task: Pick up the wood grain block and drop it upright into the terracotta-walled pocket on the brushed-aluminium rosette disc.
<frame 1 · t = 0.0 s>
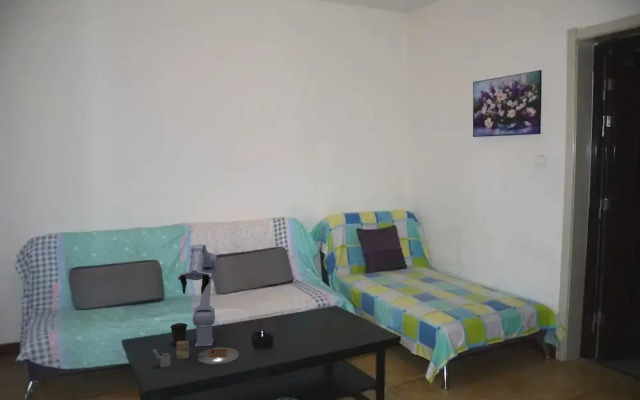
hand: (192, 292, 218), 32 cm above the table, tool tilted 50°, fingers open, 7 cm apart
coffee cup: (179, 344, 247), on the table
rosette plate: (218, 356, 230), on the table
lighter: (162, 367, 220), on the table
wood grain block: (183, 357, 230), on the table
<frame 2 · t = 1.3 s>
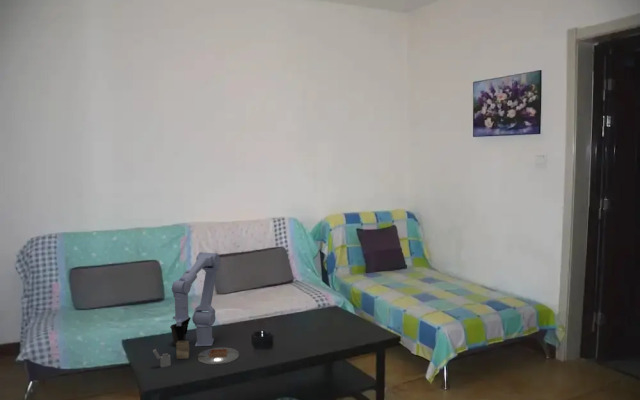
hand: (182, 336, 230), 9 cm above the table, tool pointing down, fingers open, 7 cm apart
nothing on the table moved.
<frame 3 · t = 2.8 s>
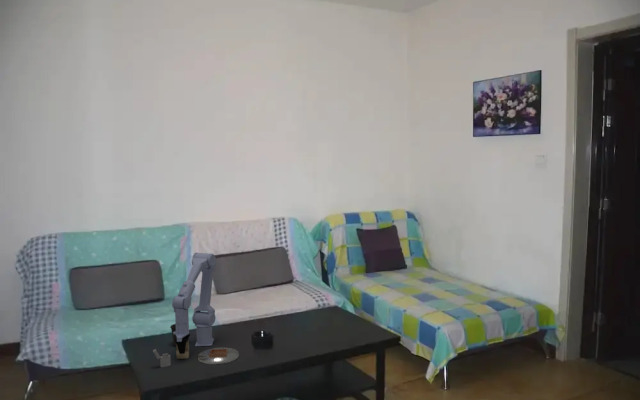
hand: (182, 351, 230), 2 cm above the table, tool pointing down, fingers closed on wood grain block, 3 cm apart
wood grain block: (183, 357, 230), on the table, touching gripper
everything else where it was.
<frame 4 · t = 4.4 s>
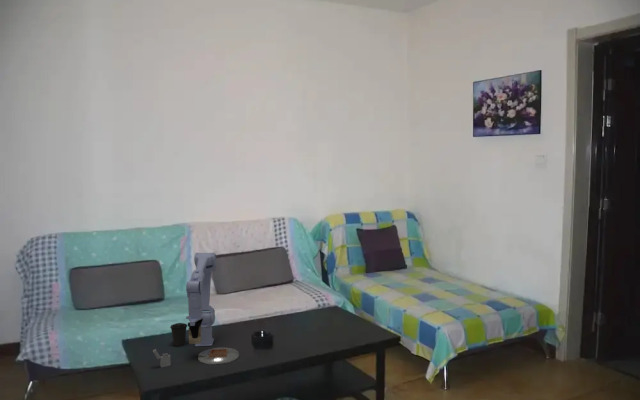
hand: (195, 336, 230), 9 cm above the table, tool pointing down, fingers closed on wood grain block, 3 cm apart
wood grain block: (195, 342, 230), point 7 cm above the table, touching gripper
everything else where it was.
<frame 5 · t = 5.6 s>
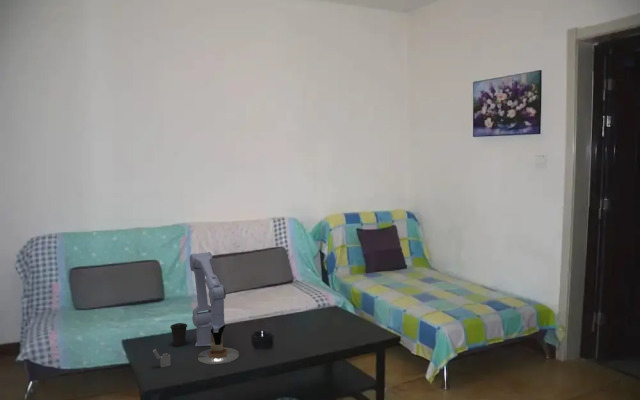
hand: (218, 343, 230), 6 cm above the table, tool pointing down, fingers closed on wood grain block, 3 cm apart
wood grain block: (217, 349, 230), point 3 cm above the table, touching gripper
everything else where it was.
when the fingers open (4 cm above the table, at t = 6.2 s): wood grain block stays where it is, resting on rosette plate.
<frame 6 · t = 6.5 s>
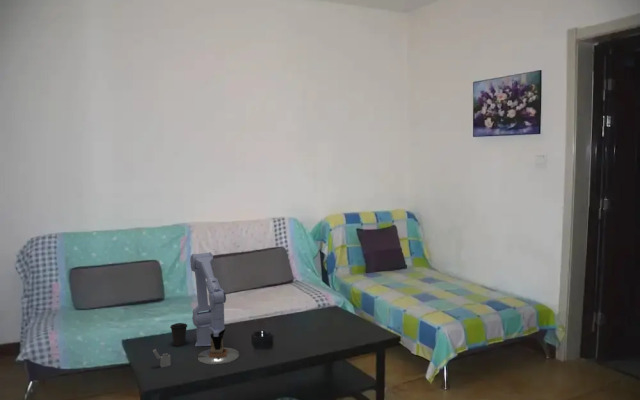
hand: (218, 347, 230), 4 cm above the table, tool pointing down, fingers open, 5 cm apart
wood grain block: (217, 354, 230), point 1 cm above the table, touching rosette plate
everything else where it was.
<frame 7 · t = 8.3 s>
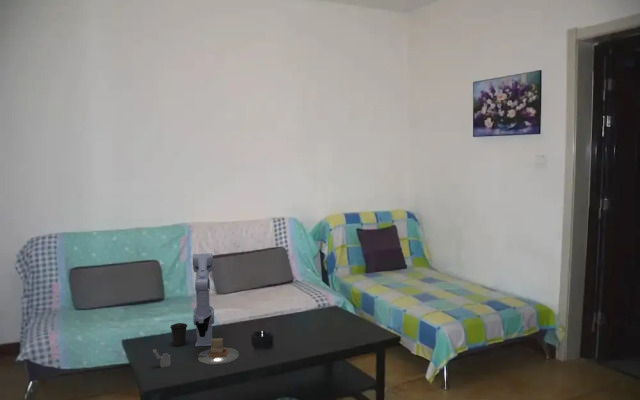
hand: (203, 333, 233), 9 cm above the table, tool pointing down, fingers open, 7 cm apart
nothing on the table moved.
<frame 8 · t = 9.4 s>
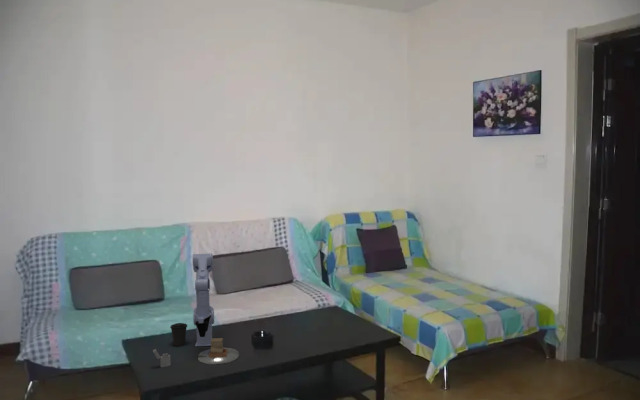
hand: (203, 333, 233), 9 cm above the table, tool pointing down, fingers open, 7 cm apart
nothing on the table moved.
at the end: wood grain block 0.6 cm off-centre on the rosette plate, point 1.0 cm above the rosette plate's base; wood grain block tilted 0°; the gripper is holding nothing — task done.
